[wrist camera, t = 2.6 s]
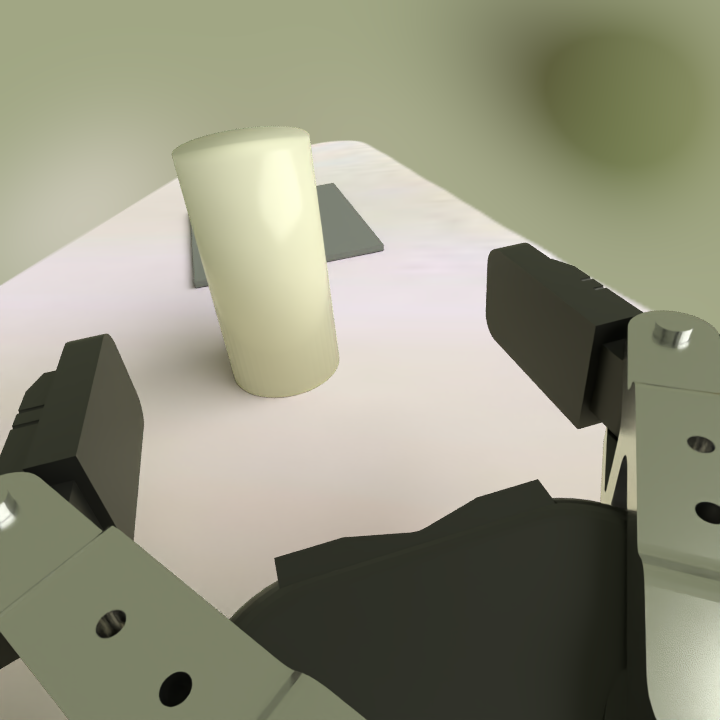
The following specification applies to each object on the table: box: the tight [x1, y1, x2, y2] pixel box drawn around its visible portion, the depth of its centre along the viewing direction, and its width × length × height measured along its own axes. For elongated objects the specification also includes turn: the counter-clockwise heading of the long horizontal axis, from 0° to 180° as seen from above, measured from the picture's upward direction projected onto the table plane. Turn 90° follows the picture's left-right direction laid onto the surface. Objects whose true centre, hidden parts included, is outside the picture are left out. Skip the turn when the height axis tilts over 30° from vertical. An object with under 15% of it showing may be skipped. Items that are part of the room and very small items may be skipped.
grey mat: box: [191, 183, 384, 288], centre depth 39 cm, size 12×14×1 cm
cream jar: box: [172, 126, 339, 398], centre depth 23 cm, size 5×5×10 cm
